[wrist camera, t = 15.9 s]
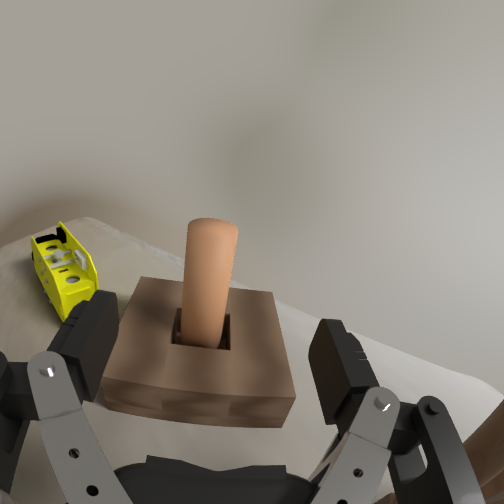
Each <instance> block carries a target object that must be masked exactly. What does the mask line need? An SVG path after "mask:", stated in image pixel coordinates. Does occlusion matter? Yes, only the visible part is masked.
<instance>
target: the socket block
mask: <svg viewBox="0 0 504 504" xmlns="http://www.w3.org/2000/svg"><path fill="white" fill-rule="evenodd" d="M182 296H183V282H180V281H172V280H165V279H157V278H150V277H143V276H141V278H140V280H139V282H138V284H137V286H136V288H135V290H134V293H133V295H132V297H131V299H130V301H129V303H128V306H127V308H126V310H125V312H124V315H123V317H122V319H121V321H120V324H119V332H118V337H117V340H116V342H115V345H114V347H113V350H112V352H111V355H110V357H109V360H108V362H107V365H106V368H105V370H104V373H103V376H102V378H101V381H100V383H101V387H102V390H103V394H104V397H105V400H106V404H107V407H108V409H109V410H113V411H118V412H122V413H127V414H132V415H138V416H143V417H149V418H155V419H162V420H168V421H176V422H184V423H193V424H203V425H214V426H229V427H253V428H282V426H283V424H284V422H285V420H286V417H287V415H288V413H289V411H290V409H291V407H292V405H293V403H294V401H295V398H296V394H295V390H294V385H293V381H292V376H291V372H290V368H289V363H288V359H287V354H286V350H285V346H284V341H283V337H282V332H281V328H280V324H279V319H278V315H277V311H276V306H275V302H274V298H273V294H272V292H265V291H256V290H247V289H238V288H229V291H228V297H227V303H226V310H225V316H224V322H223V329H222V335H221V342H220V348H219V349H210V348H201V347H193V346H185V345H180V337H181V314H182Z"/></svg>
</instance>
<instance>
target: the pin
mask: <svg viewBox="0 0 504 504" xmlns="http://www.w3.org/2000/svg"><path fill="white" fill-rule="evenodd" d="M237 236H238V228H237V227H236V226H235V225H233V224H231V223H229V222H227V221H223V220H219V219H214V218H200V219H195V220H192V221H191V222H190V223H189V224H188V232H187V243H186V255H185V267H184V281H183V296H182V314H181V337H180V345H185V346H193V347H201V348H210V349H219V348H220V342H221V335H222V329H223V322H224V316H225V310H226V303H227V297H228V291H229V285H230V279H231V273H232V267H233V260H234V254H235V248H236V242H237Z"/></svg>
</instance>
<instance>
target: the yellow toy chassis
mask: <svg viewBox="0 0 504 504" xmlns="http://www.w3.org/2000/svg"><path fill="white" fill-rule="evenodd" d="M62 228H63V229H62ZM56 230H57V235H54V234H49V235H45V236H41V237H37V238H36V239H34V237H32V238H31V247H32V260H33V261H34V266H35V271H36V273H37V275H38V277H39V279H40V281H41V283H42V285H43V287H44V289H45V290H44V294H46V293H47V295H48V296H49V298H50V300H49V303H50V304H53V306H54V308H55V309H56V311H57V313H58V315H59V316H60V318H61V320H62V322H64V321H65V319H66V318H67V317H68V314H69V313H70V311H71V310H72V308H73V307H74V306H75V305H77V304H78V303H79V302H81V301H82V300H87V301H89V300H90V299H91V297H92V295H93V294H94V292H95V291H96V290H97V289H98V290H99V287H98V277H97V272H96V269H95V267H94V264H93V262H92V259H91V256H90V254H89V253H88V252H87V251H86V250H85V249H84V248H83V247H82V246H81V244H80V243H79V242H78V241H77V240H76V239H75V238H74V237H73V235H72V234H71V233H70V232H69V231H68V230H67V228H66V227H65V226H64V225H63V224H62V222H59V224H58V226H57V228H56ZM84 254H85V255H86V257H87V258H86V257H85V255H84ZM87 261H88V264H87Z"/></svg>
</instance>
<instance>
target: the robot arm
mask: <svg viewBox="0 0 504 504" xmlns="http://www.w3.org/2000/svg"><path fill="white" fill-rule="evenodd" d="M118 332H119V319H118V308H117V297H116V293H114V292H109V291H103V290H98V289H97V290H96V291H95V292H94V294H93V295H92V297H91V299H90V300H89V301H87V300H82V301H81V302H79V303H78V304H77V305H75V306H74V307H73V308H72V310H71V311H70V313H69V314H68V317H67V318H66V319H65V321H64V322H63V325H62V326H61V327H60V329H59V330H58V332H57V334H56V335H55V337H54V339H53V340H52V342H51V344H50V345H49V347H48V349H47V351H44V352H40V353H38V354H36V355H34V356H33V357H32V358H31V359H30V361H29V362H8V361H7V359H6V357H5V355H4V354H3V353H2V352H1V351H0V504H15V502H14V500H13V498H12V497H11V496H10V490H11V486H12V482H13V477H14V473H15V470H16V466H17V462H18V459H19V455H20V452H21V448H22V445H23V442H24V439H25V436H26V433H27V430H28V427H29V424H30V421H31V420H37V424H38V428H39V432H40V435H41V438H42V441H43V444H44V447H45V449H46V452H47V455H48V458H49V460H50V463H51V465H52V468H53V470H54V473H55V475H56V477H57V480H58V482H59V484H60V487H61V489H62V491H63V493H64V495H65V497H66V499H67V501H68V502H67V503H66V504H371V503H372V501H373V498H374V496H375V494H376V492H377V489H378V487H379V484H380V482H381V480H382V477H383V475H384V472H385V469H386V467H387V465H388V468H389V472H390V476H391V479H392V483H393V487H394V491H395V495H396V499H397V503H398V504H485V501H484V498H483V495H482V492H481V489H480V487H479V484H478V481H477V478H476V476H475V473H474V471H473V468H472V466H471V463H470V461H469V458H468V456H467V453H466V451H465V448H464V446H463V444H462V441H461V439H460V437H459V435H458V432H457V430H456V428H455V426H454V424H453V421H452V419H451V417H450V415H449V413H448V411H447V409H446V407H445V405H444V404H443V403H442V402H441V401H440V400H439V399H438V398H436V397H433V396H424V397H422V398H421V399H420V400H419V402H418V403H417V404H411V403H405V402H400V401H399V399H398V398H397V396H396V395H395V394H394V393H393V392H392V391H390V390H389V389H386V388H384V387H380V386H379V383H378V381H377V379H376V377H375V374H374V372H373V370H372V368H371V366H370V363H369V361H368V360H367V357H366V355H365V353H364V352H363V348H362V346H361V344H360V342H359V341H358V340H357V339H356V338H355V336H354V335H353V334H352V333H347V332H346V330H345V327H344V325H343V323H342V321H341V320H335V319H321V321H320V322H319V325H318V327H317V330H316V332H315V335H314V337H313V340H312V342H311V345H310V348H309V354H308V358H309V363H310V367H311V371H312V374H313V378H314V382H315V385H316V389H317V393H318V397H319V400H320V404H321V408H322V412H323V416H324V419H325V423H326V425H332V424H337V428H338V432H337V434H336V435H335V437H334V439H333V441H332V442H331V444H330V446H329V448H328V449H327V451H326V453H325V455H324V456H323V458H322V460H321V461H320V463H319V465H318V466H317V468H316V469H315V470H314V472H313V473H312V474H311V476H310V477H309V478H308V479H307V480H306V479H304V478H301V477H299V476H296V475H293V474H289V473H287V472H286V465H270V466H254V465H253V466H248V467H243V468H237V469H232V470H226V471H212V470H209V469H206V468H203V467H199V466H196V465H193V464H190V463H187V462H184V461H182V460H175V459H168V458H162V457H156V456H150V455H147V458H146V463H136V464H131V465H127V466H123V467H121V468H118V469H116V470H114V471H113V470H112V468H111V466H110V464H109V463H108V461H107V459H106V457H105V455H104V453H103V451H102V449H101V447H100V445H99V443H98V441H97V439H96V437H95V435H94V433H93V431H92V429H91V427H90V425H89V422H88V420H87V418H86V416H85V413H84V411H83V409H82V406H81V405H82V403H83V400H86V401H89V402H93V401H94V398H95V395H96V392H97V389H98V387H99V384H100V381H101V378H102V376H103V373H104V370H105V368H106V365H107V362H108V360H109V357H110V355H111V352H112V350H113V347H114V345H115V342H116V340H117V337H118ZM420 444H422V447H423V450H424V453H425V455H426V458H427V462H428V465H427V469H426V468H425V465H424V462H423V459H422V456H421V453H420V450H419V448H418V446H419V445H420Z"/></svg>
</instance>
